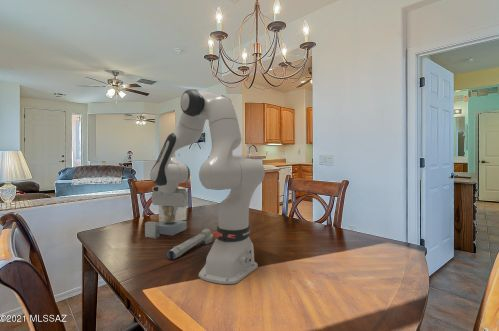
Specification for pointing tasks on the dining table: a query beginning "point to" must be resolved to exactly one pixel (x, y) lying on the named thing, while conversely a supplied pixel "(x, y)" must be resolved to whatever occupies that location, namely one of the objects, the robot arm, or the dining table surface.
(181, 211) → the coffeecake box
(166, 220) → the block
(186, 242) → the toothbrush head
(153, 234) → the pale grey block
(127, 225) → the dining table surface
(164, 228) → the bore block
